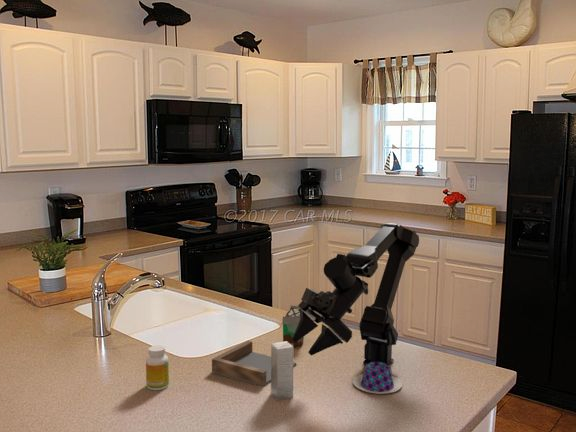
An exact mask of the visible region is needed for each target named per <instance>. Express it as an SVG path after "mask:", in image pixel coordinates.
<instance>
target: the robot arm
mask: <svg viewBox="0 0 576 432" xmlns="http://www.w3.org/2000/svg"><path fill="white" fill-rule="evenodd" d="M419 244H420V237H419V235H418V234H417V232H416V231H415V230H411V229H409V228H407V227H404V226H402V225H401V224H400V223H390V222H385V223H382V224H381V226H380V229H379V230H378V231H377V232H376V233H375V234H374V235H373V236H372V237H371V238H370V239H369V240H368V242H366V243H365V244H364V245H363V246H361V247H357V248H354V249H352V250H350V251H349V252H348V253H347V254H343V253H337V254H336V257H333V258H331V259H330V260H328V261H327V262H326V263H325V264H324V267H323V274H324V275H325V277H326V278H327V279H328V281H329V282H330V283H331V284H332V286H333V287H334V289H333V291H332V292H331V291H330V290H328V291H326V292H325V291H324V290H320V291H319V292H318V291H316V290H314V289H311V288H308V287H306V288H305V290H304V293H303V295H302V296H301V299H300V300H301V301H300V303H299V304H298V305H297V306H298V307H299V308H300V309H301V310H300V309H299V312H300V321H299V324H298V326H297V329H296V331H295V333H294V336H293V338H292V340H293V341H294V342H296V341H298V340H300V339H301V338H302V337H304V338H305V336H307V335H308V334H309V333H311V332H312V331H314V330H315V329H316V328H317V327H319V325H318V324H320V323H322V324H321V331H320V333H319V336H318V337H317V338H316V339H315V341H314V342H313V344H312V345H311V346H310V348H309V350H308V354H309V355H310V356H313V355H316V354H319V353H320V352H323V351H325V350H327V349H329V348H331V347H334V346H336V345H339V344H341V345H342V344H344V342H345V343H346V344H348V342H350V340H351V339H352V338H353V331H352V330H351V329H350V328H349V327H348V326H347V325H346V324H345V323H344V321H342V319H343V317H344V315H346V313H348V314H351V313H352V312H353V309H352V308H351V307H352V306H353V305H354V303H356V301H358V299H359V298H360V296H361V295H362V294H365V295H366V296H367V295H369V283H368V282H366V281H365V280H362V279H361V278H360V277H363V278H366V279H367V278H372V277H373V276H374V274H375V273H376V271H377V270H378V268H379V263H378V261H379V260H380V258H381V257H382V256H383V255H384V253H385V252H386V251H387V253H388V258H387V261H386V265H385V267H384V269H383V274H382V276H381V280H380V282H379V286H378V289H377V291H376V292H377V293H376V296H375V299H374V302H373V303H372V304H371V305H370V306H369V305H366V306H365V308H364V309H363V314H362V316H361V318H360V321H359V325H358V326H359V332H360V333H359V334H360V340H363V341H366V342H365V343H364V353H363V358H364V360H363V361H362V363H363V364H365V365H367V364H368V363H370V362H382V363H386V364H387V365H388V366H389V365H391V364H392V363H393V362H394V360H395V359H394V358H392V356H393V355H392V351H393V349H392V348H393V346H396V345H397V342H398V338H399V337H398V336H399V334H398V333H399V332H398V331H397V330H396V328H395V327H394V323H395V319H394V316H393V312H392V307H393V305H394V302H395V298H396V295H397V292H398V288H399V284H400V282H401V278H402V275H403V272H404V268H405V265H406V263H407V261H408V260H410V259H411V258H412V257H413V256H414V255H415V253H416V250H417V248H418V247H419ZM324 324H325V325H324ZM389 367H390V366H389Z"/></svg>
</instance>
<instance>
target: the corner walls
mask: <svg viewBox="0 0 576 432" xmlns="http://www.w3.org/2000/svg"><path fill="white" fill-rule="evenodd" d="M251 352H253V341H251V340H246V341H245V342H243V343H241V344H239V345H237V346H235V347H233V348H231V349H229V350H227V351H225V352H223V353H222V354H219V355H217V356H215V357H214V358H212V359H211V371H212V370H213V371H217V372H220V373H224V374H227V375H231V376H234V377H238V378H242V379H245V380H249V381H252V382H256V383H259V384H264V383H266V371H265V370H262V369H258V368H254V367H250V366H247V365H243V364H239V363H235V361H237V360H238V359H240V358H242V357H244V356H246V355H248V354H249V353H251Z"/></svg>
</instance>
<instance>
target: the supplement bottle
mask: <svg viewBox="0 0 576 432" xmlns="http://www.w3.org/2000/svg"><path fill="white" fill-rule="evenodd" d="M147 350H148V351H147V352H148V356H147V357H146V358H145V376H146V378H145V384H146V388H147V389H149V390H151V391H161V390H164V389H166V388H168V386H169V385H170V374H169V372H170V371H169V365H170V364H169V357H168V355H167V354H166V347H165V346H164V345H152V346H150V347H148V349H147Z"/></svg>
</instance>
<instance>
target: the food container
mask: <svg viewBox="0 0 576 432" xmlns="http://www.w3.org/2000/svg"><path fill="white" fill-rule="evenodd" d="M289 306H290V307H289V311H287V312H286V314H285V315H284V316H282V321H281V322H282V342H285V341H287V342H288V343H290V344H291V345H292V346H293V347H294V349H298V348H300V347H302V346H303V345H304V338H305V336H304V337H302V338H301V339H300V340H298V341H296V342H294V341H293V340H292V338H293V336H294V333H295V331H296V329H297V326H298V324H299V321H300V312H299V309H300V308H299V307H298V305H293V304H292V305H291V304H290V305H289ZM300 310H301V309H300Z"/></svg>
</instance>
